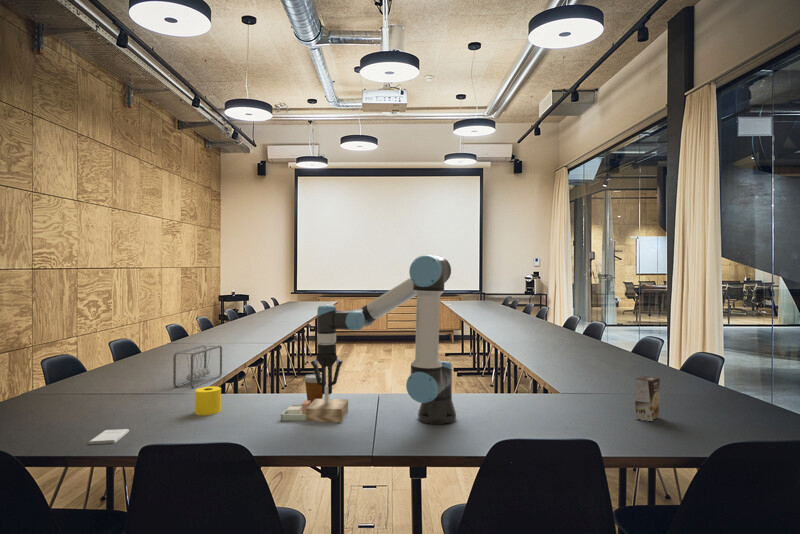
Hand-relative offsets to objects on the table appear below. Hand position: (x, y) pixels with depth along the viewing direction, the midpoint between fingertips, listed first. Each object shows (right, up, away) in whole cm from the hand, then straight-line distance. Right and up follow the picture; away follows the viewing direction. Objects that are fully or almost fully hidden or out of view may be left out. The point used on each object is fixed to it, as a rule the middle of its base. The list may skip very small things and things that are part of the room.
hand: (327, 401), depth 200 cm
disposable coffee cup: (-9, -6, +21) cm, 23 cm away
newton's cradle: (-77, -7, +62) cm, 99 cm away
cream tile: (-13, -3, +1) cm, 14 cm away
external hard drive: (-72, -6, -26) cm, 77 cm away
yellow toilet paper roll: (-50, -6, +6) cm, 51 cm away
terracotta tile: (-7, -3, +1) cm, 8 cm away
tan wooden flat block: (0, -6, 0) cm, 6 cm away
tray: (-12, -6, +1) cm, 13 cm away
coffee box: (+128, -6, -2) cm, 129 cm away
